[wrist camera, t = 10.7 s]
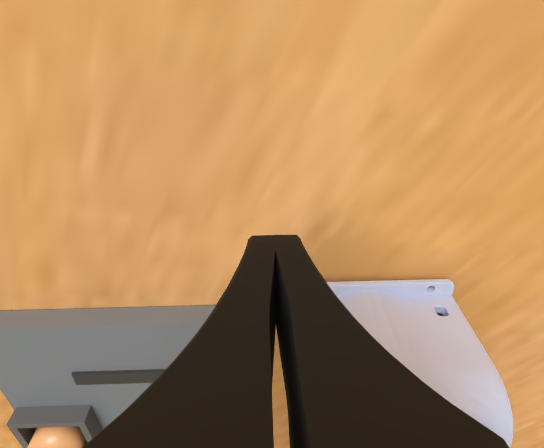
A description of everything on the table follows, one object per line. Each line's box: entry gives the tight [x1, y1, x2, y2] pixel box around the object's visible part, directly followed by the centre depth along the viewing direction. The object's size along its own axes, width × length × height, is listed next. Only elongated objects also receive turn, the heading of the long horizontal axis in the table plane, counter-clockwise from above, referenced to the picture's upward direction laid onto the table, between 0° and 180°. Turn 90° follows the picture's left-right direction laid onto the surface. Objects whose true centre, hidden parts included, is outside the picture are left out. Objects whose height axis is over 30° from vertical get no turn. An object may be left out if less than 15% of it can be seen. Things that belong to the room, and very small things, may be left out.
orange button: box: [27, 426, 86, 448], centre depth 28 cm, size 4×4×2 cm
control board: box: [0, 305, 216, 448], centre depth 29 cm, size 18×22×3 cm
